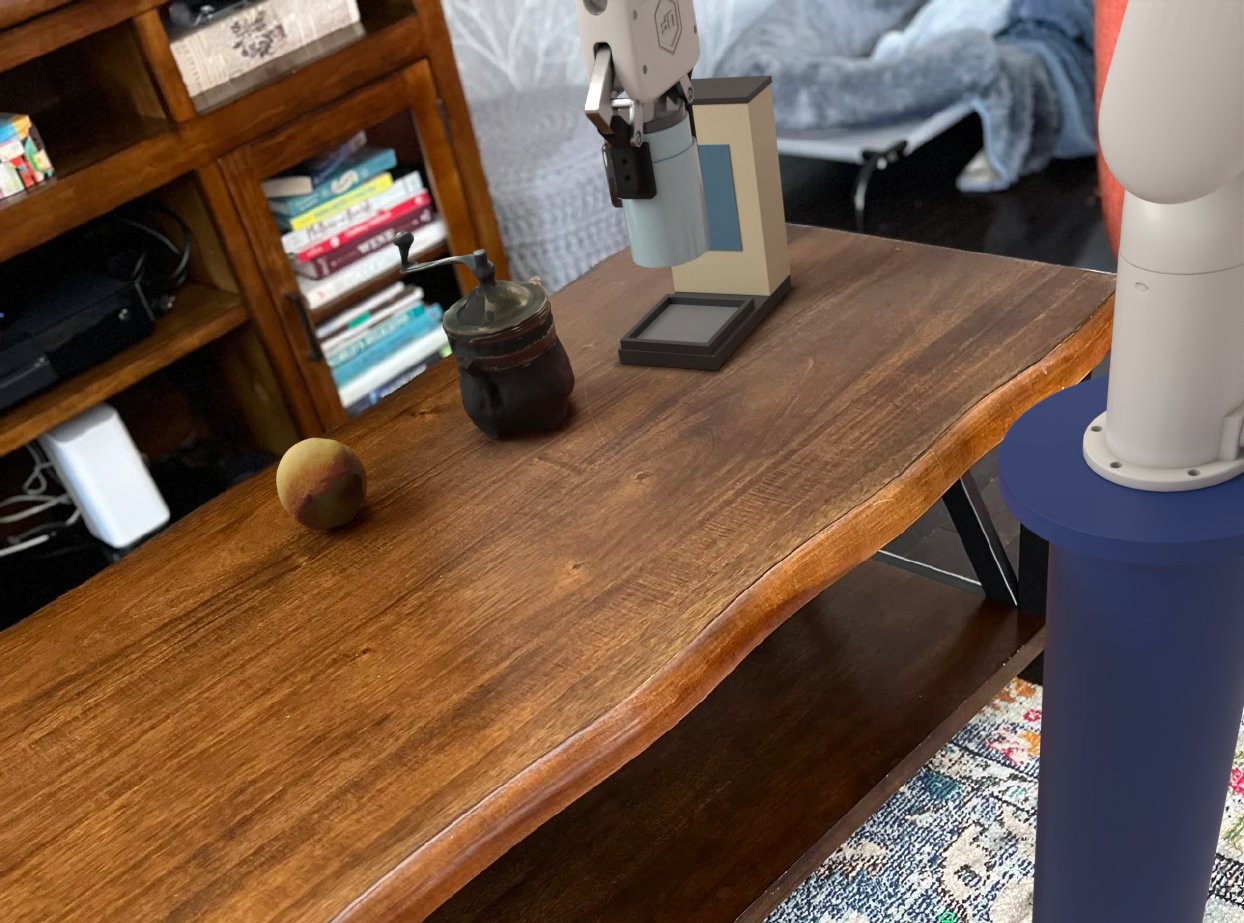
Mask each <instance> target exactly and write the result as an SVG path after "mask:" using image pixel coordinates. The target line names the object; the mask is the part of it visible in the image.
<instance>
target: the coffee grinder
mask: <svg viewBox="0 0 1244 923" xmlns="http://www.w3.org/2000/svg"><path fill="white" fill-rule="evenodd" d="M414 241H415V235H414V234H413V233H412V232H411V231H409V230H407V229H402V230H401V229H400V231H399V232H397V233H396V235H395V238H394V240H393V242H392V243H393V245H394V246H395V247H397V249H398V252H399V255H400V262H401V267H400V269H399V273H400V274H401V275H406V274H407V275H408V274H409V273H414V272H421V271H426V270H429V269H433V268H436V267H440V266H446V265H465V266H467V267H468V269H469V270H470V271H471V273H472V275H473V276H474V277H475V278H476V279H477V281H478V282H479V285H478V286H475V288H473V289H472V290H470V291H469V292H468V294H467V295H465V296H464V297H462V298H460V299H459V300H457V301H456V302H455V303H454V304H452V305H451V307H450V308H449V309H448V310H446V311H444V314H443V316H442V324H441V325H442V330H443V331H444V334H445V335H446V337H447V342H448V345H449V348H450V351H451V352H452V354H453V355H454V357H455V363H456V365H457V372H459V382H458V383H459V389H460V390H459V391H460V395H461V402H462V405H463V410H464V411H465V413H466V414H467V416H468V418H469V419H471V422H472V424H473V425H475V426H476V427H477V428H478V429H479V430H480V431H481V432H483V434H484V435H485V436H486V437H488V438H489V439H498V436H499V435H502V434H503V433H505V432H511V431H516V430H517V431H533V432H542V431H545V430H546V431H549V430H550V429H551V430H552V429H555V428H558V427H559V426H560V424H561V423H562V422H563V421H564V420H565V418H566V417H567V416H568V408H569V406H568V405H567V399H568V397H569V396H570V395H571V394H572V393H573V391H574V389H575V382H576V381H575V374H574V371H573V368H572V365H571V361H570V357H569V355H568V353H567V351H566V349H565V346H564V345H563V344H562V342H561V340H560V338H559V336H558V334H557V331H556V325H555V324H556V323H555V318H554V315H553V313H552V304H551V301H550V300H549V295H548V293H547V290H546V289H545V288H544V284H543V281H542V279H541V278H540V276H537V275H534V276H532V277H531V278H530V279H529V280H527V281H525V282H524V281H519V280H515V281H509V280H505V279H501V280H500V279H499V280H497V279H495V276H496V271H497V270H496V269H497V268H496V266H495V263H494V262H492V261H491V260H490V259H489V258H488V252H487V250H486V249H484V248H482V249H481V248H480V249H477V250H474V251H473V252H472V254H464V255H461V256H452V257H451V256H450V257H445V258H441V259H439V260H438V259H437V260H434V261H429V262H427V261H426V262H422V263H419V262H418V261H416V260H413V261H409V260H408V259H409V254H410V249H411V247H412V245H413V244H414Z"/></svg>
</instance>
